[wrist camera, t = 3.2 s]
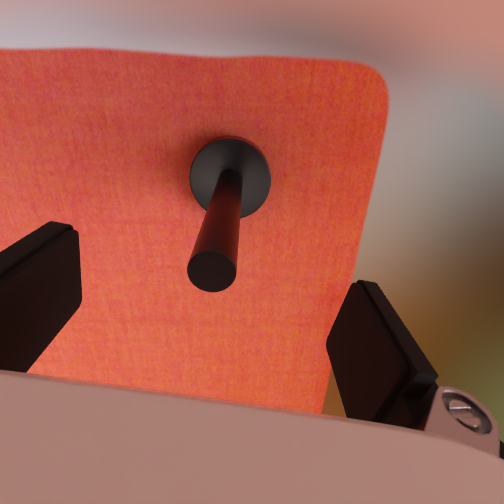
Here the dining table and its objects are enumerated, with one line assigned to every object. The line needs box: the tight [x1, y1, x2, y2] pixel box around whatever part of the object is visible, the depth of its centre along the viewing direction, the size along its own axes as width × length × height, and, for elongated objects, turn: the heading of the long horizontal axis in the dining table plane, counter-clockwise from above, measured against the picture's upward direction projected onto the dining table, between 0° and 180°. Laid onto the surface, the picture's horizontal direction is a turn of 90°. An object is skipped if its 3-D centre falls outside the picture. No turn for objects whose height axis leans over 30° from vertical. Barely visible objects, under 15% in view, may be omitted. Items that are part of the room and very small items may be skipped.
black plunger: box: [187, 136, 271, 292], centre depth 17 cm, size 6×6×14 cm
